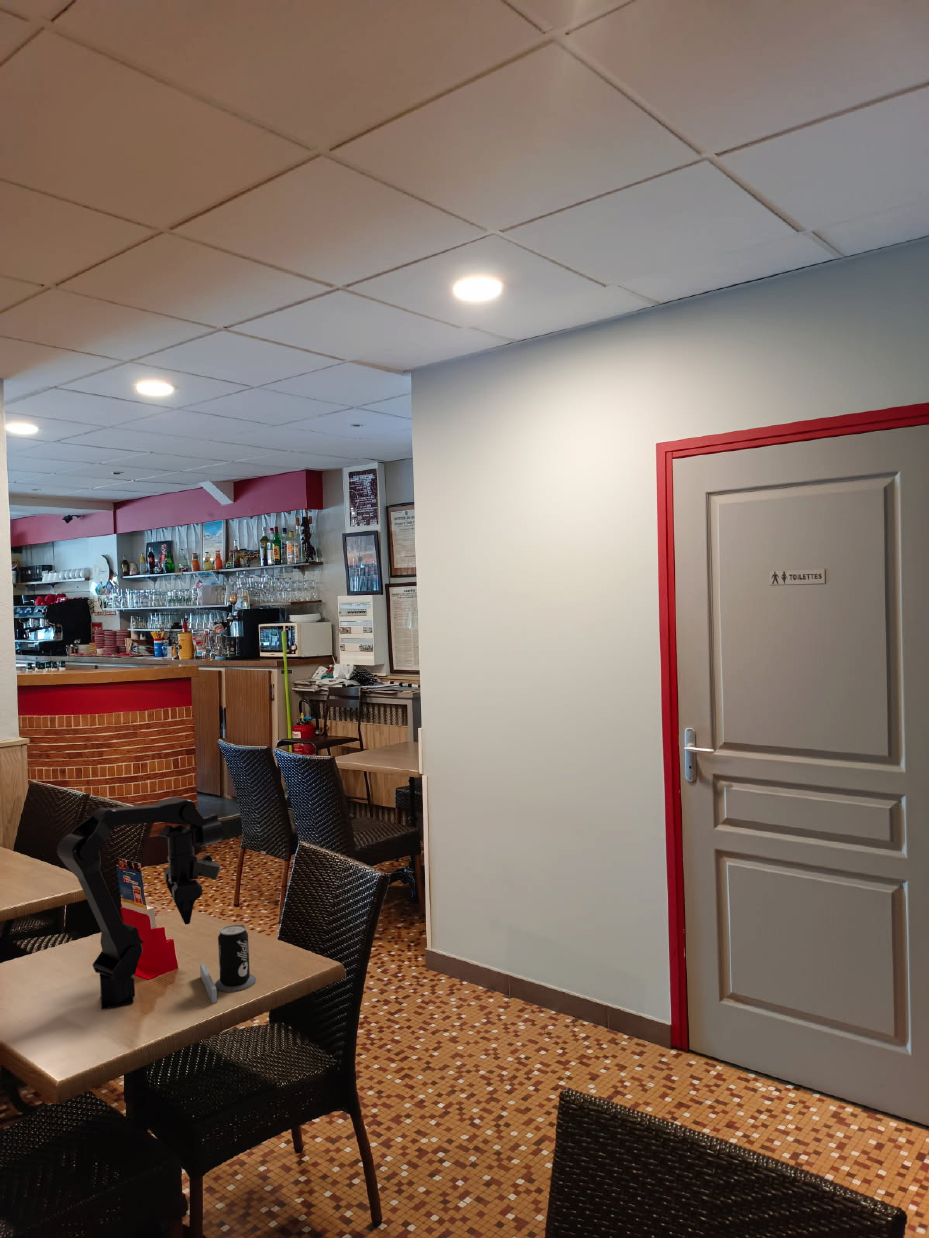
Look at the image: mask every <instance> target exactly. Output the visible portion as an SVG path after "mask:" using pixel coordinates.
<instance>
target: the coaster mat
mask: <svg viewBox="0 0 929 1238" xmlns="http://www.w3.org/2000/svg"><path fill="white" fill-rule="evenodd" d="M256 982H257V977H256V976H255V975H254V974H250V977H249V979H248V980H247V982H246V983H244V984H242V985H239V986H234V987H228V986H225V985H223V984H222V983H221V982H220V978H219V979H218V980H216V981H215V982H214V984H215V986H216V989H217V991H219V992H224V993H234V992H233V991H235V992H240V991H239V990H241V991H243V990H242V989H244V990H247V989H249V988H251V987H252V985H253V986H254V985H255V984H256ZM250 986H251V987H250ZM246 988H247V989H246Z"/></svg>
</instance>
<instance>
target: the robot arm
mask: <svg viewBox="0 0 929 1238" xmlns="http://www.w3.org/2000/svg"><path fill="white" fill-rule="evenodd" d="M221 822H222V821H220V820H219V815H218V814H215V813H211V814H208V815H206V816H202V815H201V814H200V813H199V811H198V810H197V806H196V804H195V803H194V801H193V800H191V799H188V798H187V799H186V798H180V797H168V798H165V799H162V800H159V801H158V802H155V803H152V804H144V805H131V806H121V807H120V806H119V807H108V808H106V807H99V808H98V809H96V810H95V811H94V812H93V813H92V814H91V815H89V817H88V818H87V819H85V820H84V821H82V822H80V823H79V824H78V825H77V826H75V827H74V828H73V829H72V830H71V831H70V833H69V834H66V835H65V836H63V837H62V838H61V840H60V841H59V843H58V845H57V847H56V854H57V857H59V859H60V860H61V861H62V863H63V864H64V866H65V867H66V868H67V869H68V870H69V871H70V872H71V873H72V874H74V876H75V877H76V878H77V880H78V883H79V885H80V887H81V889H82V891H83V893H84V896H85V897H86V901H87V903H88V904H89V908H90V909H91V912H92V914H93V916H94V918H95V919H96V922H97V925H98V927H99V928H100V933H101V935H100V947H101V952H100V953H99V954H98V956H97V957H96V958H95V960H94V961H93V963H92V968H93V970H94V973H96V974H99V986H100V987H99V988H100V991H99V992H100V997H99V1000H100V1002H99V1003H100V1007H101V1010H107V1009H112V1008H116V1007H121V1006H125V1005H129V1004H133V1003H134V1002H135V1001H134V998H135V997H136V989H135V988H136V987H135V977H134V975H136V972H137V968H138V964H139V962H140V958H141V956H142V954H143V945H142V944H143V943H144V940H142V939H141V937H140V933H139V929H138V928H137V927H136V926H133V925H130V924H127V923H124V922H123V919H122V917H121V915H120V913H119V911H118V908H117V906H116V904H115V902H114V899H113V897H112V894H111V893H110V890H109V888H108V886H107V883H106V881H105V879H104V877H103V874H102V872H101V861H102V860H101V853H100V850H101V849H102V848H103V846H105V844H106V842H107V841H108V839H109V836H110V834H111V833H112V832H111V831H112V830H114V828H116V827H122V826H130V825H131V826H132V825H133V826H134V825H141V824H152V823H165V826H164V827H163V828H162V829H161V830H160V832H158V836H160V837H165V838H167V849H168V850H167V851H168V855H167V861H168V867H167V868H166V869H165V871H163V873H164V874H163V875H164V881H165V884H166V887H167V888H168V891H169V893H170V895H171V897H172V899H173V902H174V904H175V906H176V909H177V910H178V912H179V914H180V917H181V919H182V921H183V923H184V924H185V925H190V924H191V920H192V915H193V909H194V905H195V902H196V901H197V900H198V899H200V898H201V897H202V896H203V886H202V884H201V883H200V882H199V881H198V879H199V877H203V878H207V879H210V880H214V881H215V880H218V876H219V872H220V869H221V865H220V864H219V863H218V862H217V861H214V860H213V857H212V855H210V854H206V853H205V854H203V856H202V857H201V858H198V857H197V856H196V854H195V847H198V848H202V847H206V846H209V845H212V844H215V843H219V842H221V841H222V840H223V839H224V835H225V828H224V827H223V826H224V825H222V823H221ZM168 824H169V825H168ZM170 824H173V825H175V826H172V825H170ZM185 825H188V826H185Z"/></svg>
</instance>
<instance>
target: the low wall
mask: <svg viewBox="0 0 929 1238" xmlns="http://www.w3.org/2000/svg"><path fill="white" fill-rule="evenodd" d="M199 970H200V972H199V973H200V978H201V981H202V982H203V986H204V985H205V986H204V987H205V990H206V993H207V995H208V997H209V998H210V1001H211V1003H212V1004H217V1003H218V994H217V991H218V990H217V989H216V986H215V982H214V981H213V978H212V976H211V974H210V972H209V970H208V967H207V965H206V964H205V962H203V963H200V964H199Z"/></svg>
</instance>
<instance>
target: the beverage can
mask: <svg viewBox="0 0 929 1238" xmlns="http://www.w3.org/2000/svg"><path fill="white" fill-rule="evenodd" d="M217 943H218V965H219V966H218V967H219V979H220V982H221V983H222V984H223V985H225V986H228V987H234V986H239V985H242V984H244V983H246V982H247V980H248V979H249V977H250V954H249V952H250V951H249V949H250V948H249V947H250V946H249V933H248V932H247V930H246V926H245V925H243V924H232V925H231V924H230V925H226V926H224V927H221V928H220V930H219V934H218V936H217Z"/></svg>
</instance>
